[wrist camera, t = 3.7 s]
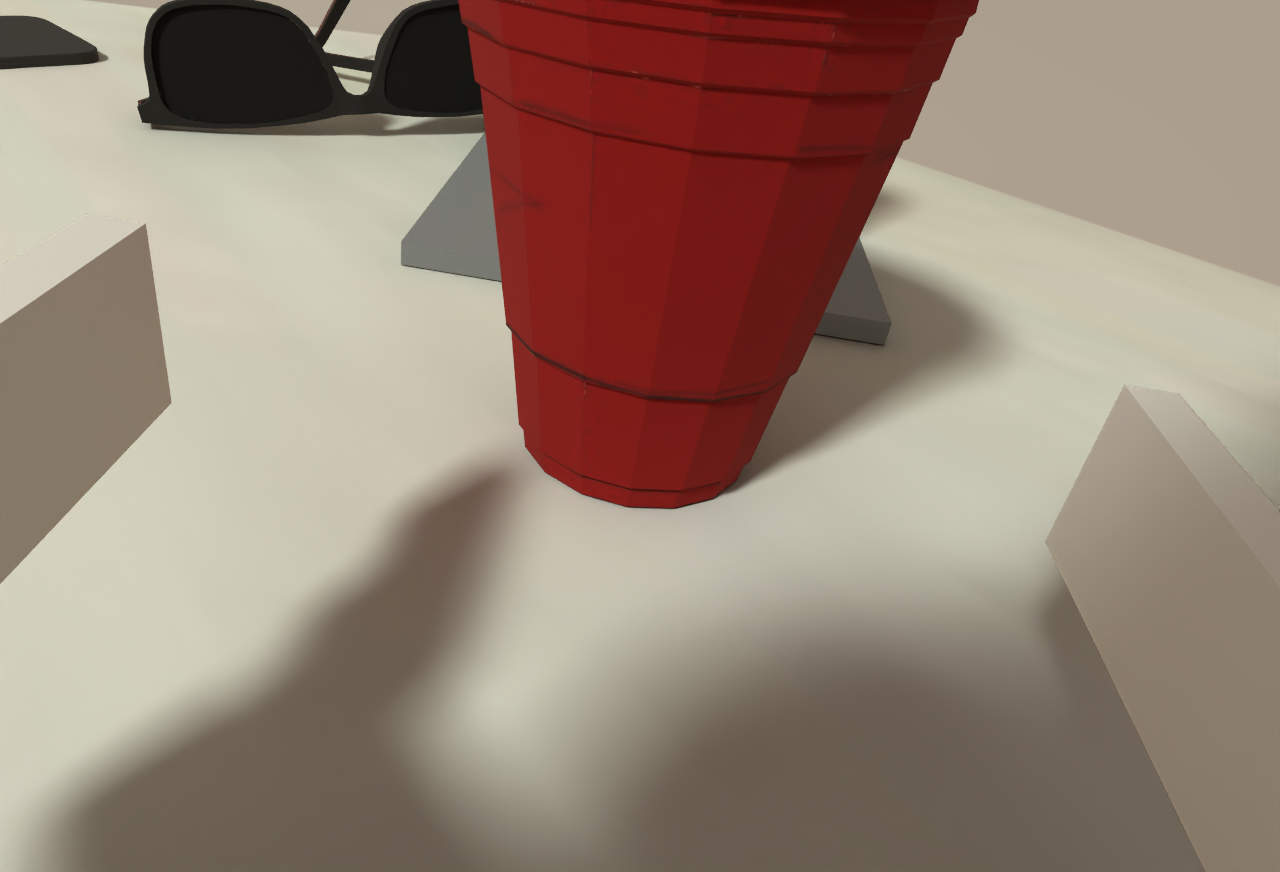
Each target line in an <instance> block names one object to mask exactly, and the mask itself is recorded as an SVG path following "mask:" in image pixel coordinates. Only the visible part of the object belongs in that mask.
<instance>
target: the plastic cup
mask: <svg viewBox="0 0 1280 872" xmlns="http://www.w3.org/2000/svg"><path fill="white" fill-rule="evenodd" d="M458 1H459V7H460V13H461V20H462V23H463V24H464V25H466V26H467V27H468V35H469V42H470V49H471V56H472V63H473V70H474V77H475V81H476V82H477V83H479V84H480V88H481V97H482V106H483V115H484V124H485V134H486V143H487V152H488V161H489V170H490V179H491V188H492V198H493V207H494V216H495V225H496V234H497V243H498V252H499V262H500V271H501V280H502V289H503V298H504V307H505V316H506V325H507V326H508V327H509V329H510V330H511V332H512V344H513V357H514V369H515V381H516V393H517V406H518V418H519V425H520V426H521V427H522V429H523V430H524V439H525V447H526V448H527V450H528V451H529V452H530V453H531V455H532V456H533V457H534V459H535V460H536V461H537V462H538V464H539V465H540V466H541V468H542V469H543V470H544V472H546V473H547V474H549V475H551V476H552V477H554V478H556V479H557V480H559V481H561V482H562V483H564V484H566V485H567V486H569V487H571V488H572V489H574V490H576V491H577V492H579V493H581V494H584V495H588V496H591V497H595V498H598V499H602V500H606V501H609V502H613V503H616V504H620V505H623V506H629V507H659V508H676V507H680V506H684V505H688V504H692V503H696V502H700V501H704V500H708V499H712V498H714V497H715V496H716V495H717V494H719V493H720V492H721V491H723V490H724V489H725V488H727V487H728V486H729V485H731V484H732V483H733V482H735V481H736V480H737V478H738V476H739V474H740V472H741V470H742V468H743V466H744V465H746V464H747V463H748V462H750V461H751V459H752V456H753V454H754V452H755V450H756V448H757V446H758V444H759V441H760V439H761V437H762V435H763V433H764V431H765V429H766V426H767V424H768V422H769V420H770V418H771V416H772V413H773V411H774V409H775V407H776V405H777V403H778V401H779V398H780V396H781V394H782V392H783V390H784V388H785V386H786V383H787V381H788V379H789V377H790V376H791V375H793V374H795V373H796V372H797V370H798V368H799V366H800V364H801V362H802V360H803V357H804V355H805V353H806V351H807V349H808V347H809V344H810V342H811V340H812V338H813V336H814V334H815V331H816V329H817V327H818V325H819V323H820V321H821V318H822V316H823V314H824V312H825V310H826V308H827V305H828V303H829V301H830V299H831V297H832V295H833V292H834V290H835V288H836V286H837V284H838V282H839V279H840V277H841V275H842V273H843V271H844V269H845V267H846V264H847V262H848V260H849V258H850V256H851V254H852V251H853V249H854V247H855V245H856V243H857V241H858V238H859V236H860V234H861V232H862V230H863V228H864V225H865V223H866V221H867V219H868V217H869V215H870V212H871V210H872V208H873V206H874V204H875V202H876V199H877V197H878V195H879V193H880V191H881V189H882V186H883V184H884V182H885V180H886V178H887V176H888V173H889V171H890V169H891V167H892V165H893V163H894V161H895V158H896V156H897V154H898V152H899V150H900V148H901V145H902V143H903V141H905V140H907V139H909V138H910V136H911V134H912V131H913V129H914V126H915V124H916V122H917V119H918V117H919V114H920V112H921V110H922V107H923V105H924V102H925V100H926V98H927V95H928V93H929V90H930V88H931V86H932V83H933V82H935V81H937V80H939V79H940V76H941V74H942V72H943V69H944V67H945V64H946V62H947V59H948V57H949V54H950V52H951V49H952V47H953V44H954V42H955V40H956V38H958V37H959V36H961V35H962V34H963V31H964V29H965V26H966V24H967V21H968V19H969V17H971V16H972V15H974V14H975V13H976V10H977V6H978V2H979V0H458Z"/></svg>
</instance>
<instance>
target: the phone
mask: <svg viewBox="0 0 1280 872" xmlns="http://www.w3.org/2000/svg"><path fill="white" fill-rule="evenodd" d="M98 60H99V58H98V52H97V48H96V47H95V46H93V45H92V44H90V43H88V42H86V41H85V40H83V39H81V38H79V37H77V36H75V35H74V34H72V33H70V32H68V31H66V30H64V29H62V28H61V27H59V26H57V25H55V24H53V23H51V22H49V21H47V20H45V19H42V18H37V17H31V16H0V69H13V68H28V67H46V66H64V65H81V64H90V63H94V62H97V61H98Z"/></svg>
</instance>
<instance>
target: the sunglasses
mask: <svg viewBox="0 0 1280 872" xmlns="http://www.w3.org/2000/svg"><path fill="white" fill-rule="evenodd" d="M349 2H350V0H334V1H333V3H332V4H331V6H330V9H329V10H328V12H327V14H326V16H325V18H324V20H323V22H322V24H321V26H320V28H319V30H318V31H317V33H316V34H315V36H314V35H313V33H312V32H311V30H310V29H309V27H308V26H307V25H306V24H305V23H303V21H301V20H300V18H298V17H297V16H296V15H294V14H293V13H292V12H290V11H289V10H286V9H284V8H282V7H280V6H277V5H273V4H270V3H266V2H260V1H255V0H174V1H171V2H168V3H166V4H164V5H162V6H161V7H160V8H158V9H157V10H156V11H155V13H154V14H153V15H152V16H151V18H150V20H149V22H148V24H147V27H146V32H145V41H144V64H145V70H146V75H147V80H148V87H149V94H150V95H149V97H148V98H145V99H142V100H139V101H138V104H139V105H138V107H137V108H138V111H139V114H140V117H141V120H142V123H151V124H161V125H174V126H187V127H200V128H214V129H218V128H258V127H271V126H281V125H290V124H298V123H306V122H311V121H316V120H322V119H327V118H331V117H336V116H341V115H356V114H372V113H383V114H391V115H400V116H412V117H460V116H469V115H479V114H483V106H482V97H481V88H480V84H479V83H477V82H476V81H475V77H474V70H473V63H472V56H471V49H470V42H469V35H468V27H467V26H466V25H464V24H463V23H462V20H461V13H460V7H459V1H458V0H430V1H425V2H421V3H418V4H415V5H412V6H410V7H408V8H406V9H405V10H403V11H402V12H401V13H400V14H399V15H398V16H397V17H396V18H395V19H394V20H393V22H392V23H391V24H390V25H389V27H388V28H387V30H386V31H385V33H384V34H383V36H382V37H381V39H380V42H379V44H378V47H377V51H376V55H375V60H368V59H361V58H355V57H349V56H343V55H337V54H331V53H327V52H324V50H323V48H322V47H323V46H324V45H325V43H326V41H327V40H328V38H329V36H330V35H331V33H332V31H333V29H334V28H335V26H336V24H337V23H338V21H339V19H340V17H341V16H342V14H343V12H344V10H345V9H346V7H347V5H348V4H349ZM290 19H291V20H290ZM295 23H296V24H297V25H298V26H299V27H300V28H299V27H298V26H297V25H296V24H295ZM308 39H309V40H308ZM152 65H153V66H152ZM323 65H324V66H323ZM332 66H336V67H342V68H348V69H354V70H360V71H366V72H372V76H371V82H370V85H369V88H368V90H367V92H365V93H364V94H362V95H353V94H351V93H348V92H347V91H346V90H345V89H344V87H343V86H342V84H341V82H340V80H339V78H338V76H337V74H336V72H335V71H334V69H333V67H332ZM324 67H325V68H324ZM154 75H155V76H154ZM155 80H156V81H155ZM157 89H158V90H157ZM158 91H159V92H158ZM159 93H160V94H159ZM193 119H194V120H193Z"/></svg>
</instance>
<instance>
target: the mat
mask: <svg viewBox="0 0 1280 872" xmlns="http://www.w3.org/2000/svg"><path fill="white" fill-rule="evenodd" d="M401 265H407V266H413V267H419V268H425V269H431V270H437V271H443V272H449V273H455V274H461V275H467V276H473V277H479V278H485V279H491V280H497V281H502V280H501V271H500V262H499V252H498V243H497V234H496V225H495V216H494V207H493V198H492V188H491V179H490V170H489V161H488V152H487V143H486V134H485V133H484V134H483V136H482V137H481V138H480V140H479V141H478V142H477V143H476V145H475V146H474V147H473V149H472V150H471V151H470V153H469V154H468V155H467V157H466V158H465V159H464V160H463V162H462V163H461V164H460V166H459V167H458V168H457V170H456V171H455V172H454V173H453V175H452V176H451V177H450V179H449V180H448V181H447V183H446V184H445V185H444V187H443V188H442V189H441V190H440V192H439V193H438V194H437V196H436V197H435V198H434V200H433V201H432V202H431V203H430V205H429V206H428V207H427V209H426V210H425V211H424V213H423V214H422V215H421V217H420V218H419V219H418V220H417V222H416V223H415V224H414V226H413V227H412V228H411V230H410V231H409V232H408V233H407V235H406V236H405V237H404V239H403V240H402V242H401ZM890 326H891V321H890V319H889V316H888V313H887V311H886V308H885V305H884V303H883V300H882V297H881V294H880V292H879V289H878V286H877V284H876V281H875V278H874V276H873V273H872V270H871V268H870V265H869V262H868V260H867V257H866V254H865V252H864V249H863V246H862V244H861V241H860V238H858V241H857V243H856V245H855V247H854V249H853V251H852V254H851V256H850V258H849V260H848V262H847V264H846V267H845V269H844V271H843V273H842V275H841V277H840V279H839V282H838V284H837V286H836V288H835V290H834V292H833V295H832V297H831V299H830V301H829V303H828V305H827V308H826V310H825V312H824V314H823V316H822V318H821V321H820V323H819V325H818V327H817V329H816V331H815V334H821V335H827V336H833V337H839V338H845V339H851V340H857V341H863V342H869V343H875V344H881V345H884V344H885V341H886V338H887V335H888V332H889V329H890Z"/></svg>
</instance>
